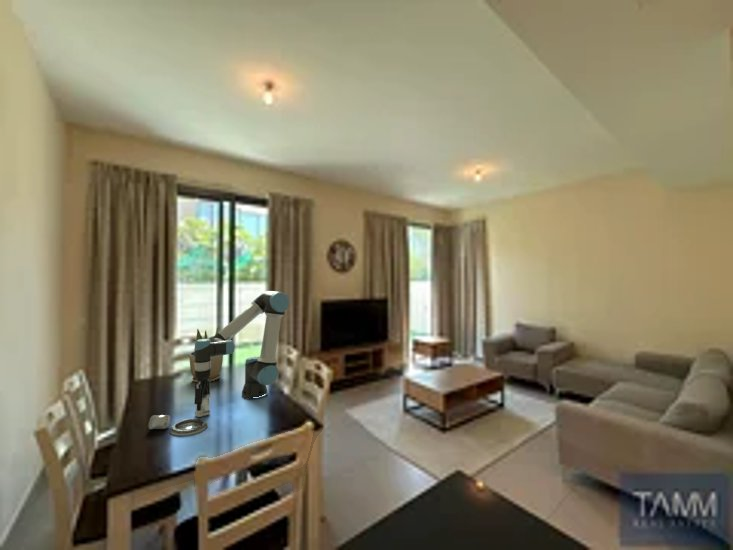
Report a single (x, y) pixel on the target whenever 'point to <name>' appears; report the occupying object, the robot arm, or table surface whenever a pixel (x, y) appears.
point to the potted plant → (215, 362)
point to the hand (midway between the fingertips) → (202, 412)
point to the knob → (204, 405)
